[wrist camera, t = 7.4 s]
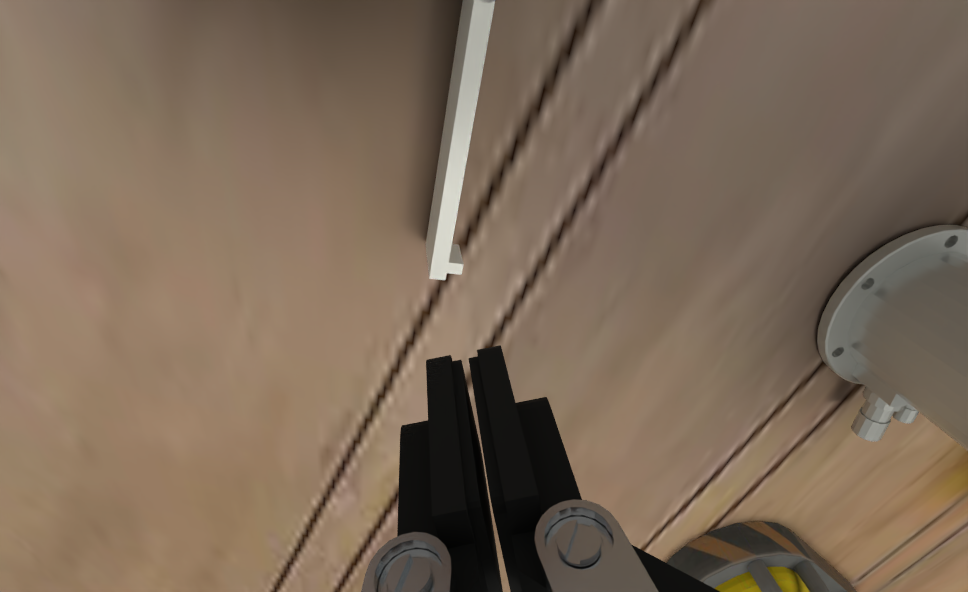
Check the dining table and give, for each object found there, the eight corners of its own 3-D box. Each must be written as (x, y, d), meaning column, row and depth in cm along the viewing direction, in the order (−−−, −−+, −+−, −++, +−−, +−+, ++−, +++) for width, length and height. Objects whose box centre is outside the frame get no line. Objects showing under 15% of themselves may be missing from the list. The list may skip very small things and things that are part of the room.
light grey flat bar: (505, -23, 23) (523, -26, 19) (455, 248, 29) (463, 281, 26) (463, -33, 22) (474, -38, 19) (421, 244, 29) (425, 278, 25)
